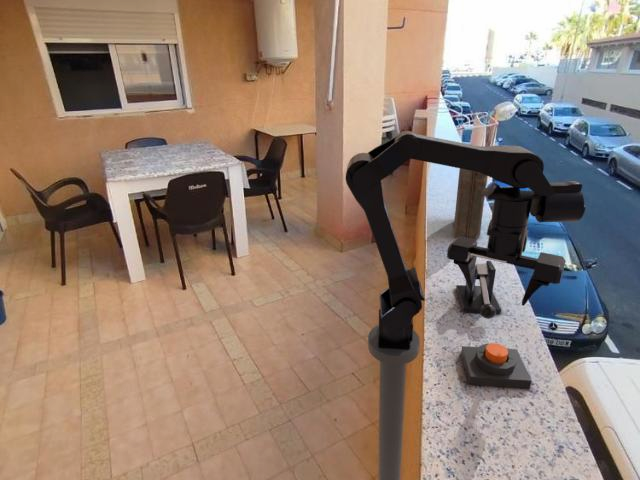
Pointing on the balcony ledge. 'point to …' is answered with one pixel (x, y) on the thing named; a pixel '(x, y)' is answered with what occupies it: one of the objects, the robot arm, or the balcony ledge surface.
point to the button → (496, 353)
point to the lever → (484, 292)
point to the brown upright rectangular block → (469, 204)
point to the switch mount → (478, 293)
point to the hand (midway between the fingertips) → (496, 297)
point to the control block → (495, 369)
